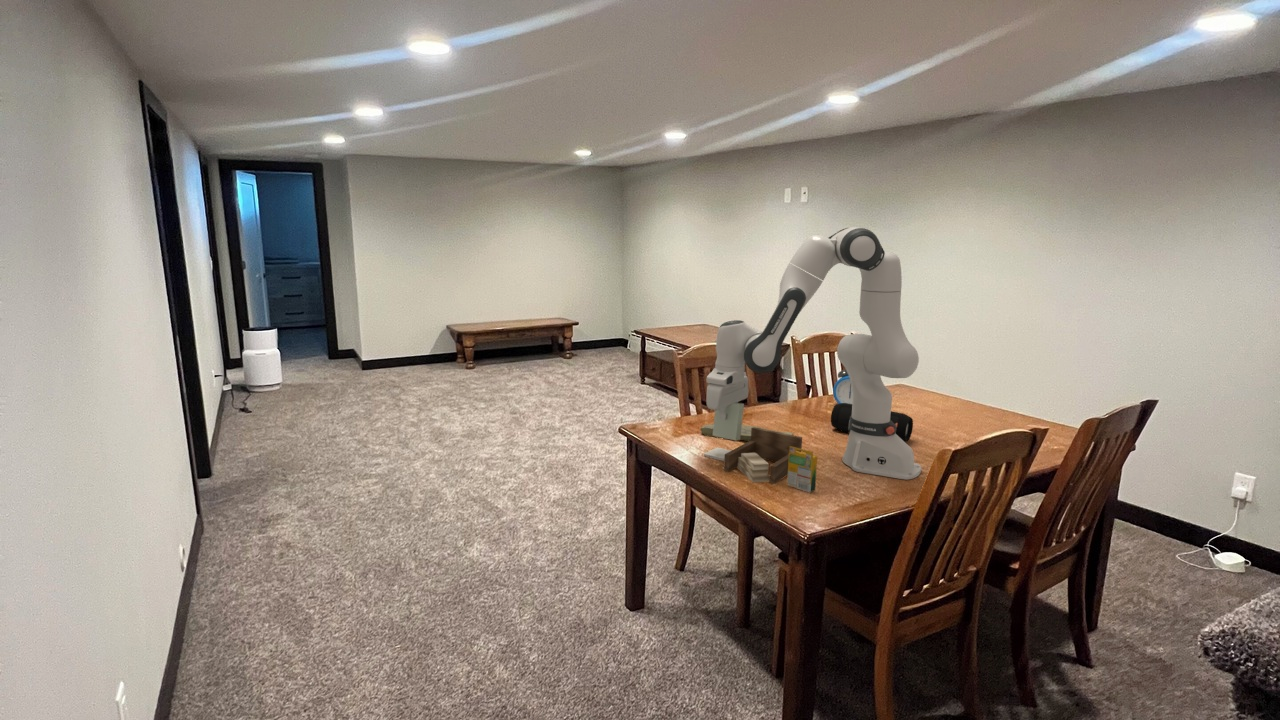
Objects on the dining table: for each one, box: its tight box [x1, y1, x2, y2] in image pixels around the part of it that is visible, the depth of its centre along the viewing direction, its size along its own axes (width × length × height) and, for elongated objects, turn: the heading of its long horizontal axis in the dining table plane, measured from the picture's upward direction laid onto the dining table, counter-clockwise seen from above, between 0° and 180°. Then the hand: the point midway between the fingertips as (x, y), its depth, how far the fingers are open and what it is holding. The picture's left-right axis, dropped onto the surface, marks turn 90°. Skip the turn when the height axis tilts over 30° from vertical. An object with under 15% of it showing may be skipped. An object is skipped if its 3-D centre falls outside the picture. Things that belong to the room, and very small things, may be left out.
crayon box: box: [786, 446, 818, 494], centre depth 183 cm, size 7×3×12 cm, turn 48°
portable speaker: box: [830, 403, 914, 443], centre depth 230 cm, size 26×10×10 cm, turn 52°
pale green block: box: [712, 402, 745, 441], centre depth 205 cm, size 8×3×11 cm, turn 54°
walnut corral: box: [723, 426, 803, 485], centre depth 197 cm, size 16×18×9 cm
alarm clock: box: [832, 369, 853, 404], centre depth 265 cm, size 13×6×15 cm, turn 61°
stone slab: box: [700, 423, 794, 442], centre depth 227 cm, size 12×4×30 cm
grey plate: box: [703, 446, 732, 462], centre depth 208 cm, size 11×8×1 cm
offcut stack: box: [736, 453, 770, 484], centre depth 193 cm, size 12×5×5 cm, turn 14°
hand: (727, 417), depth 205 cm, fingers closed on pale green block, 3 cm apart
